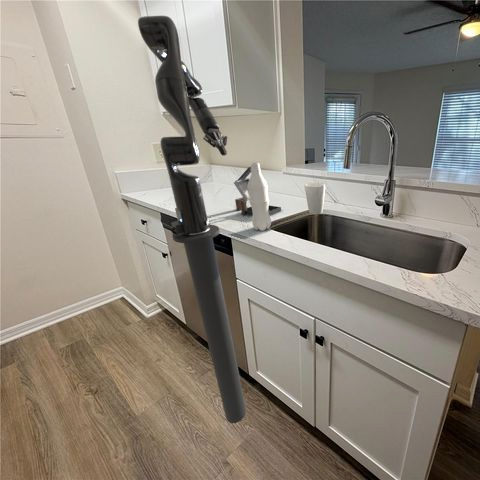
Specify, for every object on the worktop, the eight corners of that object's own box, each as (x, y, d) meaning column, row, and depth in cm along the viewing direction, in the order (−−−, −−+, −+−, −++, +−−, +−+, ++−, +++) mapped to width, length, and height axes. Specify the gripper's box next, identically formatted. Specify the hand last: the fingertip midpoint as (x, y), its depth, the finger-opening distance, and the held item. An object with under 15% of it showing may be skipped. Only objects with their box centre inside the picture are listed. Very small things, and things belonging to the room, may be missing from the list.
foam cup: (307, 216, 116) (306, 187, 111) (304, 210, 125) (303, 183, 119) (328, 214, 118) (327, 185, 113) (323, 209, 126) (323, 182, 121)
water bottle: (260, 233, 98) (252, 164, 88) (249, 229, 102) (240, 163, 92) (275, 227, 103) (269, 162, 93) (264, 224, 107) (257, 161, 97)
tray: (281, 210, 125) (281, 207, 124) (264, 217, 115) (264, 213, 115) (259, 207, 131) (258, 203, 131) (241, 213, 122) (241, 209, 121)
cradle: (265, 207, 131) (264, 194, 128) (244, 215, 119) (242, 200, 117) (250, 205, 136) (248, 192, 133) (229, 212, 124) (226, 198, 121)
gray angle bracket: (261, 198, 128) (273, 186, 122) (244, 203, 119) (256, 191, 113) (248, 178, 128) (259, 165, 122) (230, 182, 119) (241, 168, 112)
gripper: (214, 127, 128) (230, 158, 128) (190, 124, 117) (208, 159, 117) (222, 117, 124) (239, 150, 124) (198, 114, 113) (217, 149, 113)
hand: (224, 154), depth 121 cm, fingers closed
